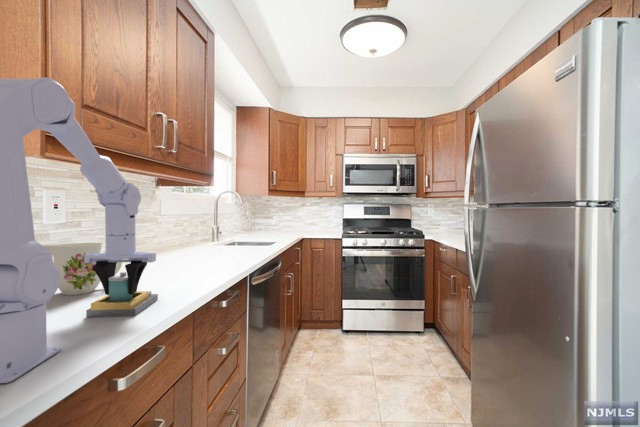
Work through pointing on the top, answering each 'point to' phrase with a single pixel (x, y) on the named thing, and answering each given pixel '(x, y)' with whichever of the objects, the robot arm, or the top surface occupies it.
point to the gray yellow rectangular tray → (122, 305)
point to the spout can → (119, 288)
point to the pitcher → (76, 267)
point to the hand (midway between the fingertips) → (121, 293)
